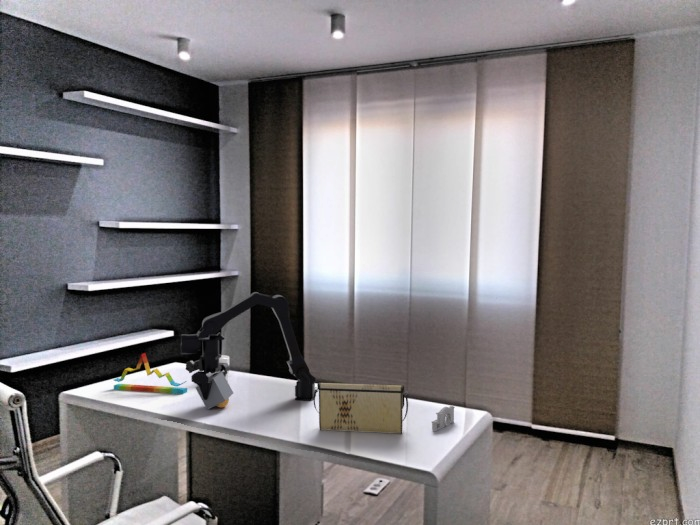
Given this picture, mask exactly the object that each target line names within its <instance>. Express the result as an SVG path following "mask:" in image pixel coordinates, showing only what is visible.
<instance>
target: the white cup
mask: <svg viewBox="0 0 700 525" xmlns="http://www.w3.org/2000/svg"><path fill="white" fill-rule="evenodd" d="M219 363H227V364H228V365H229V366H230V355H226V354H225V355H224V354H223V355H222V354H221V358H219ZM224 372H225V371H224ZM227 372H228V373H227V375H226V377H225V378H226V380H227V382H228V381H229V380H230V378H229V377H230V370H229V371H227Z"/></svg>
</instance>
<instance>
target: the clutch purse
mask: <svg viewBox="0 0 700 525" xmlns="http://www.w3.org/2000/svg"><path fill="white" fill-rule="evenodd" d="M317 393H318V408H316V396H317ZM408 394H409V392H408V390H405V385H397V384H396V385H395V384H394V385H393V384H391V385H390V384H364V383H363V384H362V383H338V382H337V383H335V382H334V383H333V382H318V383H317V387H316V386H315V393H314V397H313V400H312V402H313V406H314V408H315V410H316V411H317V413H318V420H319V421H318V424H319V426H318V428H319V430H320V431H323V430H325V431H326V430H328V431H345V432H346V431H347V432H365V433H367V432H369V433H370V432H371V433H387V434H388V433H390V434H401V435H403V421H405V419H406V417H407V414H408V409H409V400H408V399H409V398H408ZM315 395H316V396H315ZM405 404H406V406H405ZM404 407H406V409H405V414H404V415H403V409H404ZM403 416H404V418H403Z"/></svg>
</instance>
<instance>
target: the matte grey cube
mask: <svg viewBox="0 0 700 525" xmlns="http://www.w3.org/2000/svg"><path fill="white" fill-rule="evenodd" d="M212 381H213V382H212V386H211V389H210V392H209V396H208V399H207V400H204V398H203V395H202V393H201V390H200V387H199V386H198V385H197V386H195V387H194V388H195V390H196V392H197V393H198V395H199V397H200V399H201V401H202V403H203V404H204V407H205V409H206V411H207V410H210V409H211V408H214V407H217V406H216V405H218V404H220V403H222V402H224V401H226V400H227V399H228V398H230V397H231V396H232V395H233V394H234V391H233V389H232V387H231V386H230V384H229V382H228V381H227V380H226V378H225V376H224V374H223V373H222V372H220V373H218V374H216V375H214V376H213V378H212Z"/></svg>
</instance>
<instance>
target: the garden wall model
mask: <svg viewBox="0 0 700 525" xmlns="http://www.w3.org/2000/svg"><path fill="white" fill-rule="evenodd" d="M435 414H436V415H437V416H436V419H434V420H433V421H431V429H432V432H433V431H434V432H437V431H439V430H440V429H443V428H445V427H448V426H450V425H451V424H452V423H454V422H455V406H454V405H450V406H444V407H442V408H441V409H440V410H439V411H438V412H435Z"/></svg>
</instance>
